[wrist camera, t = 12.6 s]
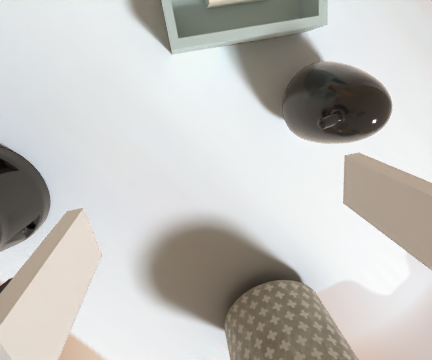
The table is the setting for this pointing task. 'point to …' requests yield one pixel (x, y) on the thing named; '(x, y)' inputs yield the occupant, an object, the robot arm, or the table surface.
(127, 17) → the table surface
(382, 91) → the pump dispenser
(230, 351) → the planter
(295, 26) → the box
